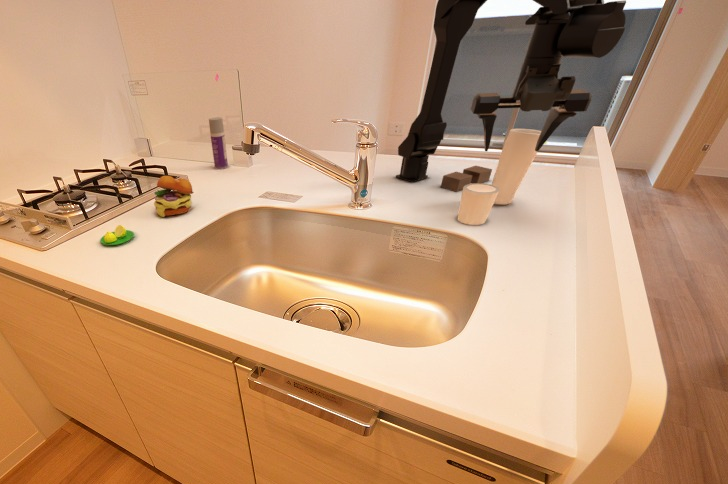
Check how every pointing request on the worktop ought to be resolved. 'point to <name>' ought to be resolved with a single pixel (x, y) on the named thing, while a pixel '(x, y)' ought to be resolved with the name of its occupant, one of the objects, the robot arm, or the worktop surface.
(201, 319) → the worktop surface
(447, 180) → the walnut block near
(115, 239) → the lemon
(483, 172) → the walnut block far
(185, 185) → the cheeseburger
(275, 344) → the worktop surface
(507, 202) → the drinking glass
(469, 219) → the cream cup
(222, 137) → the container
